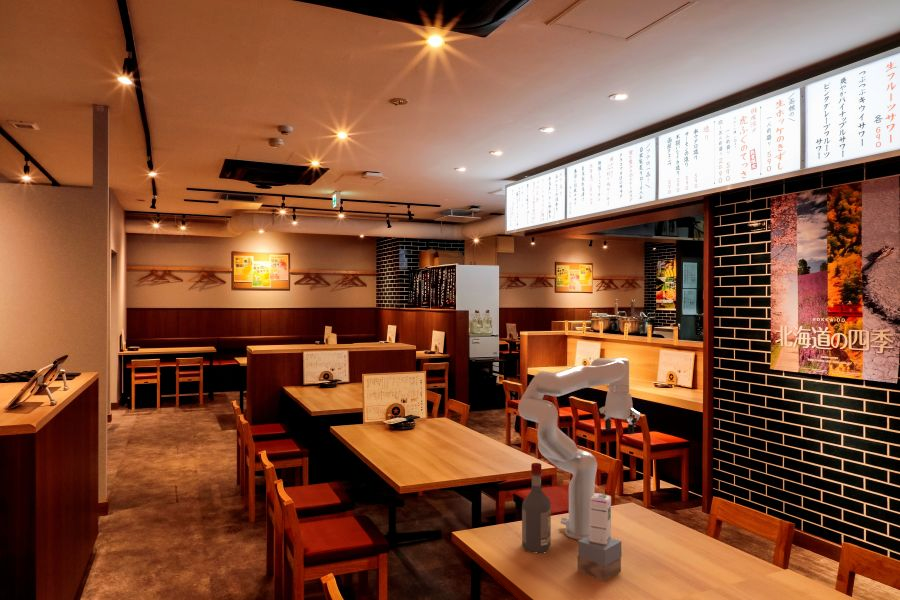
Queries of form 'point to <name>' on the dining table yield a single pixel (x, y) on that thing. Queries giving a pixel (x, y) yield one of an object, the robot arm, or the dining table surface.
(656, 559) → the dining table surface
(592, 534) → the syrup box
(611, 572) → the walnut block
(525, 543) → the liquor
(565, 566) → the dining table surface
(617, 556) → the grey square block
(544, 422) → the robot arm
